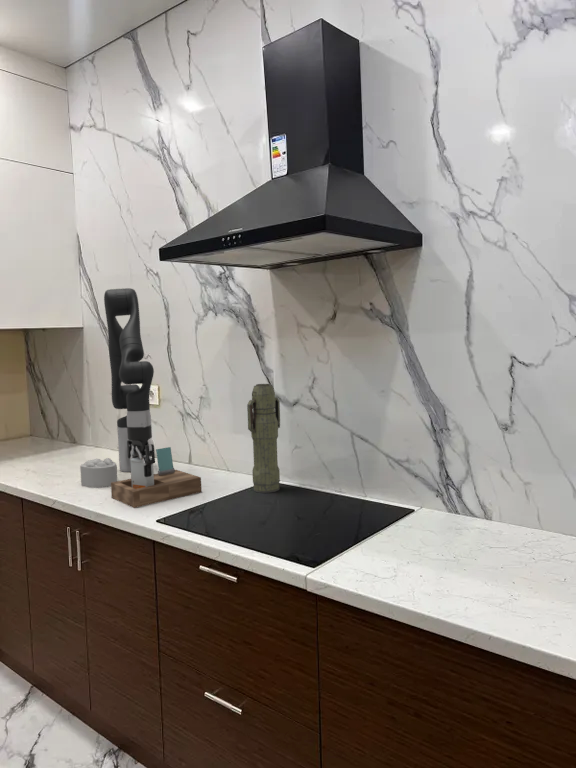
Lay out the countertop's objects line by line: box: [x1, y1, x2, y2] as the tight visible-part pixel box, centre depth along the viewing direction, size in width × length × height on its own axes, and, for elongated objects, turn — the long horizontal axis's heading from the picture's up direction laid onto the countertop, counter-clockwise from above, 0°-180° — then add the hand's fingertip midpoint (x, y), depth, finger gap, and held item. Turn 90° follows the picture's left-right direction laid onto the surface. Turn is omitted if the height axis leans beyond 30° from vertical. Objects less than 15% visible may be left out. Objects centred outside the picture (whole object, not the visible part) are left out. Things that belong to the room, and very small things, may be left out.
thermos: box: [246, 383, 281, 494], centre depth 191 cm, size 9×12×35 cm
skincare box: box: [130, 457, 155, 489], centre depth 186 cm, size 6×4×12 cm
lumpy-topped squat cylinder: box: [79, 457, 118, 489], centre depth 206 cm, size 10×13×9 cm
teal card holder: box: [155, 446, 176, 476], centre depth 196 cm, size 9×6×2 cm
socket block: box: [110, 469, 203, 509], centre depth 190 cm, size 16×24×5 cm, turn 131°
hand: (141, 474), depth 186 cm, fingers open, 8 cm apart
